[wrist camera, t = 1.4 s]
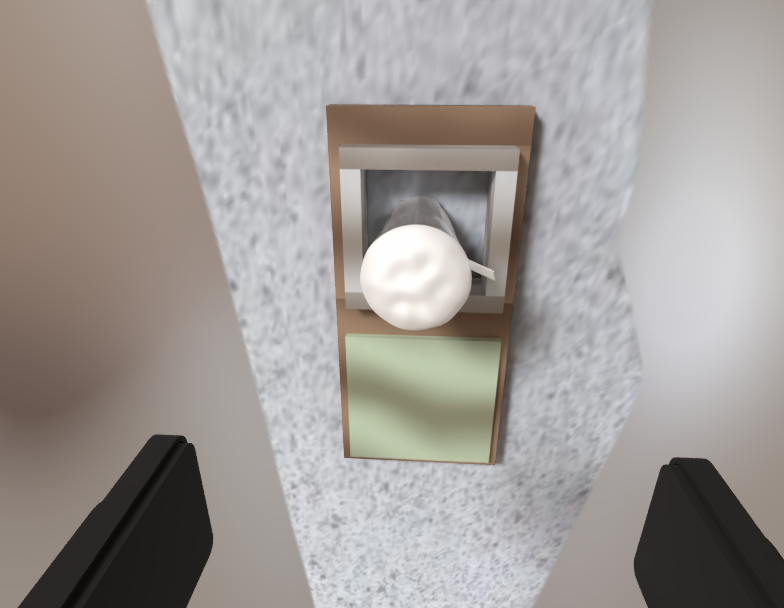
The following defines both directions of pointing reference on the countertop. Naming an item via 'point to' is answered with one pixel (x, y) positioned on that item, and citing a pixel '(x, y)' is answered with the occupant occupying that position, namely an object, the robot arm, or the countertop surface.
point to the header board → (469, 325)
